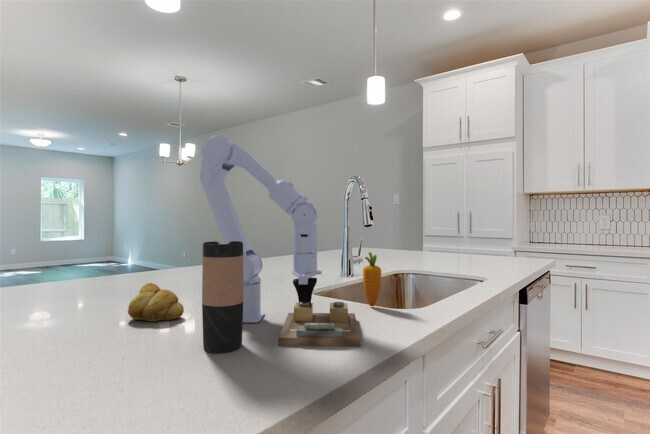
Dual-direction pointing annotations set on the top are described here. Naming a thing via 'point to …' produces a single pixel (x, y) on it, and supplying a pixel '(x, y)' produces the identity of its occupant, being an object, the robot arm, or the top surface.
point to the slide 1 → (303, 311)
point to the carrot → (372, 280)
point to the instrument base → (320, 331)
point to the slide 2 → (338, 312)
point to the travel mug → (222, 296)
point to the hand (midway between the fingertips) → (305, 308)
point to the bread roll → (155, 304)
